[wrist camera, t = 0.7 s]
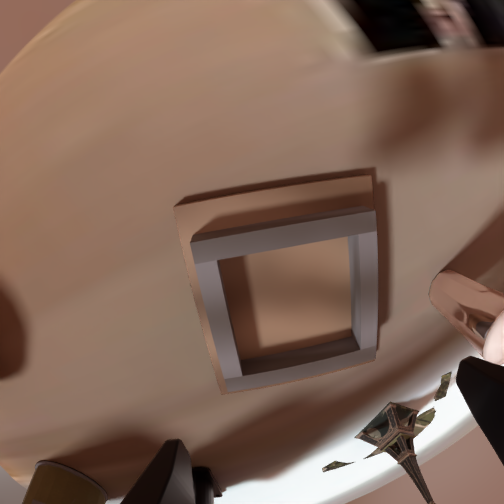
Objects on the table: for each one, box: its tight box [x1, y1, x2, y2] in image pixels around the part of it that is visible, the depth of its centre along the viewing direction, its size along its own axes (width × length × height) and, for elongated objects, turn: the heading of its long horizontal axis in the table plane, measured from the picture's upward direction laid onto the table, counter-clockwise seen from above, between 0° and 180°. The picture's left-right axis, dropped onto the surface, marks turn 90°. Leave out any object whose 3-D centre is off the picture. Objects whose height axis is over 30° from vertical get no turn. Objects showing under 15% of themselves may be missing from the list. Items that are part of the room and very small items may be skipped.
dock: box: [173, 175, 378, 395], centre depth 19 cm, size 14×12×3 cm
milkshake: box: [429, 269, 504, 365], centre depth 17 cm, size 4×5×10 cm
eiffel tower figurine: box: [322, 373, 451, 504], centre depth 21 cm, size 15×10×13 cm
